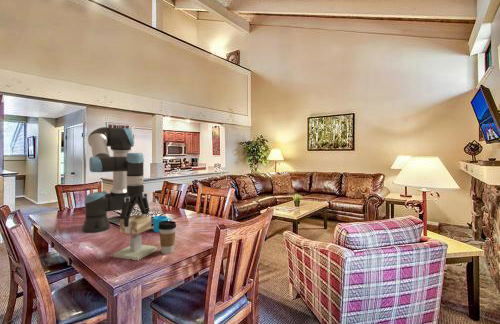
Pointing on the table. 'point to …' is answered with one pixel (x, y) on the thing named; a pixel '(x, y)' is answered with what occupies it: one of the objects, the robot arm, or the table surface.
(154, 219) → the mug
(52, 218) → the table surface
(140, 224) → the collar
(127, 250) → the base
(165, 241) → the coffee cup
